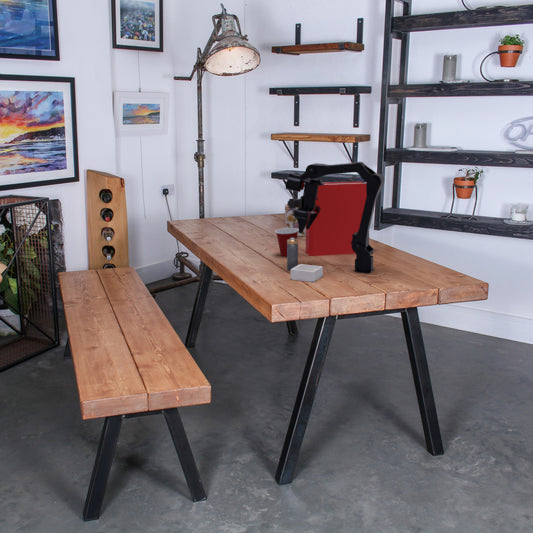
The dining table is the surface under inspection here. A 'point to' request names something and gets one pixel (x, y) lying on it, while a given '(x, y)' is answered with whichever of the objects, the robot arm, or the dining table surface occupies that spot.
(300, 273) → the bin
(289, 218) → the decorative jar
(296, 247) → the battery cell
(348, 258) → the dining table surface
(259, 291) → the dining table surface
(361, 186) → the book
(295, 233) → the plastic cup
